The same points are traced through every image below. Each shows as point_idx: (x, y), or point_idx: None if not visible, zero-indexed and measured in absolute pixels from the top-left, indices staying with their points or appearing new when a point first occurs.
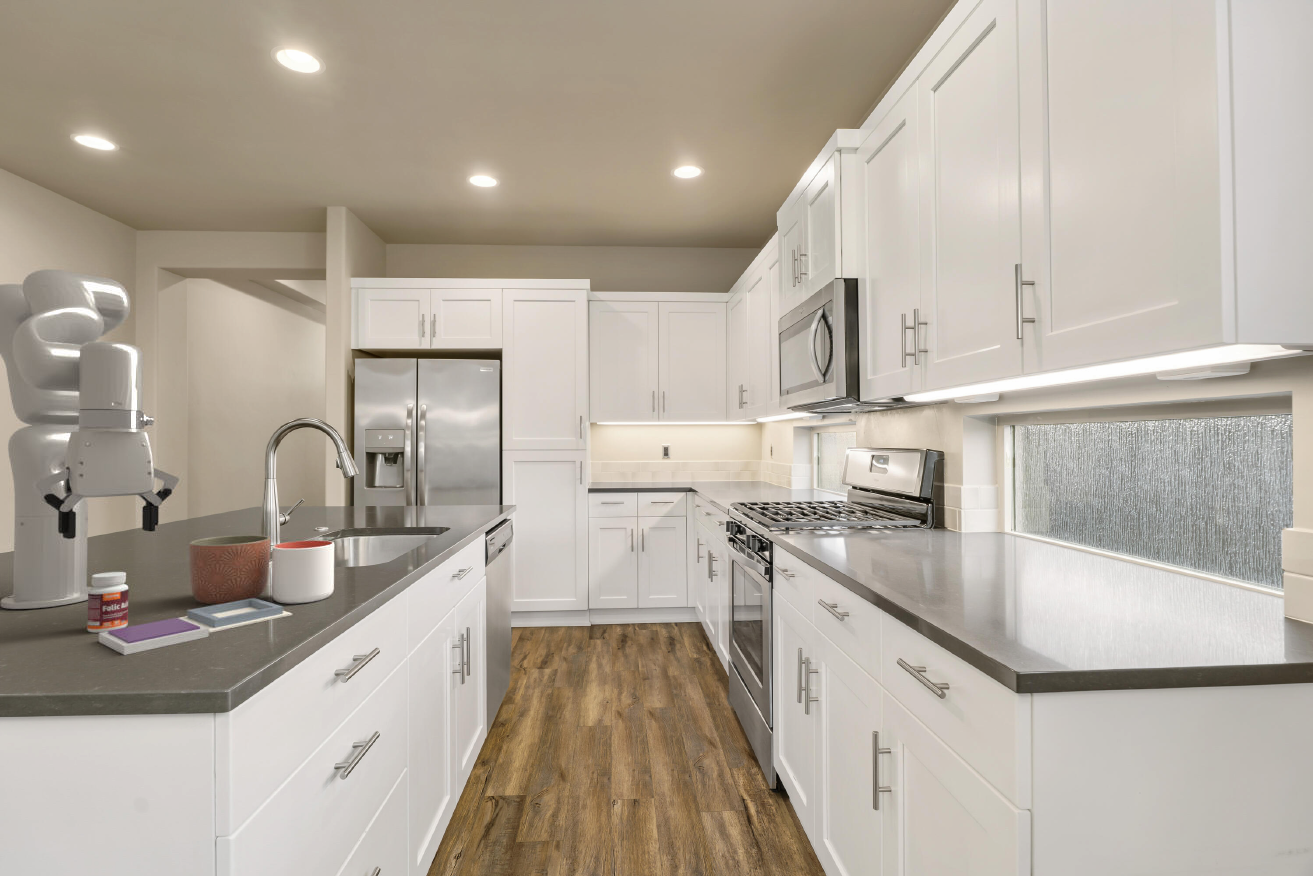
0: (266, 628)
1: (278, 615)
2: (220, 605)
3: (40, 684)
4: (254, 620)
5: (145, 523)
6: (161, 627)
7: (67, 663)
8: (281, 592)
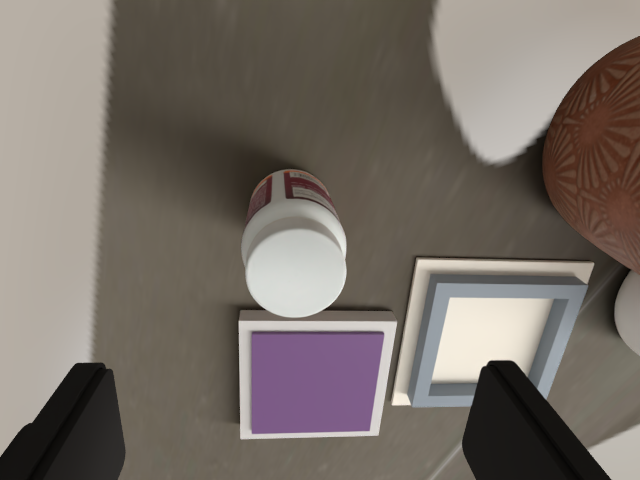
0: (455, 441)
1: None
2: (501, 297)
3: None
4: None
5: (493, 434)
6: (327, 386)
7: (165, 405)
8: (629, 326)
